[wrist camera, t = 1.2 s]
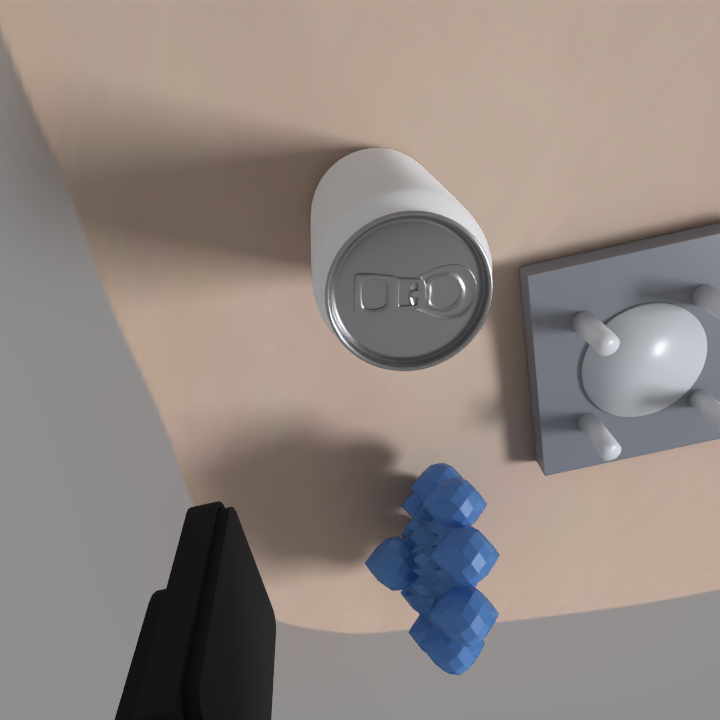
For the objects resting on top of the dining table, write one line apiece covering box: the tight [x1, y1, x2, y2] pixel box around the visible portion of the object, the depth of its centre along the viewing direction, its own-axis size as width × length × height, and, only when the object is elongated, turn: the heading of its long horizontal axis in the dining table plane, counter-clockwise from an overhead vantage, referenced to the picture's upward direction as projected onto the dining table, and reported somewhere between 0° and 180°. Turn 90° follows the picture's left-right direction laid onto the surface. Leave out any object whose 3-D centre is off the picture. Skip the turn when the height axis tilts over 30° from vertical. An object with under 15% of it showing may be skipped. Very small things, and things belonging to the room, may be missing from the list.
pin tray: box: [519, 223, 720, 476], centre depth 34 cm, size 13×12×4 cm
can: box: [311, 148, 493, 371], centre depth 26 cm, size 6×6×12 cm
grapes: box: [365, 463, 499, 675], centre depth 34 cm, size 12×7×12 cm, turn 176°
